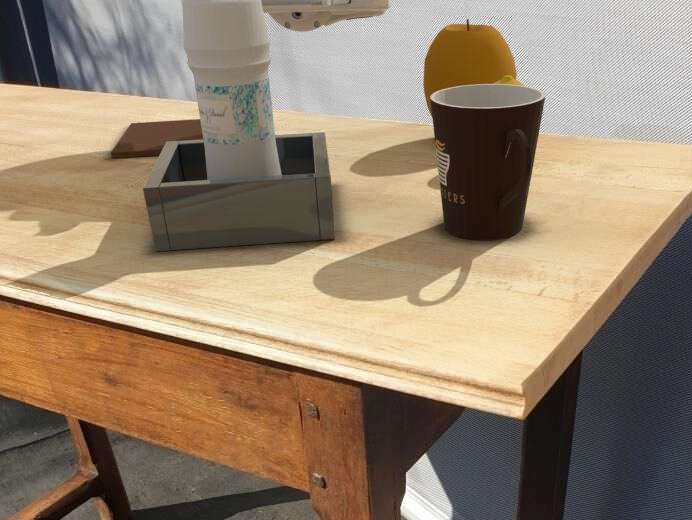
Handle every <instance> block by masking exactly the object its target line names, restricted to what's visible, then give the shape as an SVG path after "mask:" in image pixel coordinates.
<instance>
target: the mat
mask: <svg viewBox="0 0 692 520" xmlns="http://www.w3.org/2000/svg"><path fill="white" fill-rule="evenodd" d="M186 140H203V134H202V127H201V121H200V118H195V119H194V118H193V119H178V120H161V121H144V122H131V123H130V124H129V126H128V127H127V129H126V130H125V131H124V133H123V134H122V136H121V137H120V139H119V140H118V142H117V143H116V144H115V146H114V147H113V149H112V150H111V152H110V157H111V159H122V158H137V157H140V158H141V157H153V156H160V154H161V152H162V150H163V148H164V146H165V144H166V142H169V141H186Z"/></svg>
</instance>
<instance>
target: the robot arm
mask: <svg viewBox="0 0 692 520" xmlns="http://www.w3.org/2000/svg"><path fill="white" fill-rule="evenodd" d="M180 3H181V4H182V3H183V0H180ZM261 3H262V8H263V12H264V14H268V15H269V16H270V18H271V19H272V20H273V21H275V23H277V24H278V25H280V26H281V27H283V28H285V29H288V30H290V31H293V32H301V33H302V32H303V33H307V32H311V31H314V30H317V29H320V28H321V27H323V26H324V27H329V26H331V25H333V24H336V23H338V22H342V21H350V20H357V19H367V18H374V17H380V16H383V15H385V14H386V12H387V10H389V9H391V6H392V0H261Z"/></svg>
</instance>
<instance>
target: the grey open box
mask: <svg viewBox="0 0 692 520" xmlns="http://www.w3.org/2000/svg"><path fill="white" fill-rule="evenodd" d="M275 140H276V147H277V152H278V158H279V163H280V169H281V175H279V176H264V177H248V178H232V179H217V180H207V168H206V156H205V146H204V140H186V141H169V142H166V144H165V146H164V148H163V150H162V152H161V154H160V155H158V158H157V160H156V161H155V163H154V164H153V167H152V169H151V171H150V173H149V175H148V177H147V179H146V182H145V183H144V185H143V187H142V191H143V196H144V201H145V206H146V211H147V216H148V221H149V226H150V232H151V237H152V241H153V245H154V251H155V252H165V251H166V252H167V251H179V250H193V249H208V248H221V247H222V248H223V247H237V246H251V245H267V244H280V243H281V244H282V243H296V242H311V241H312V242H313V241H320V240H321V241H324V240H325V241H326V240H335V239H336V228H335V217H334V216H335V214H334V203H333V201H334V200H333V188H332V176H331V175H332V174H331V168H330V161H329V160H330V159H329V151H328V144H327V135H326V132H325V131H321V132H320V131H318V132H303V133H287V134H286V133H285V134H275Z"/></svg>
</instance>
